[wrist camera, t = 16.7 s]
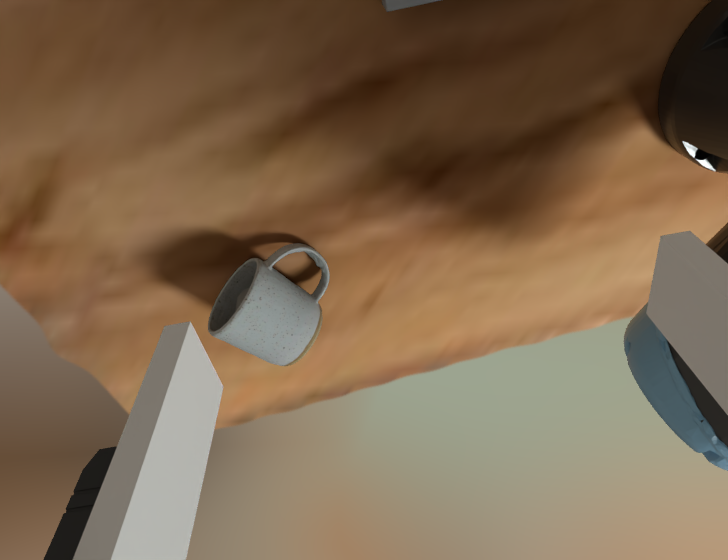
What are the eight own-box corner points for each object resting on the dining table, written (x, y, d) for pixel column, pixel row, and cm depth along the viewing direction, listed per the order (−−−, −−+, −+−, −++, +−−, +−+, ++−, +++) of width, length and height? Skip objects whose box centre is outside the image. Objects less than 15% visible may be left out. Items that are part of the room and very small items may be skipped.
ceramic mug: (282, 334, 53) (278, 390, 46) (213, 294, 49) (198, 348, 43) (350, 267, 48) (354, 318, 42) (279, 218, 45) (273, 266, 39)
